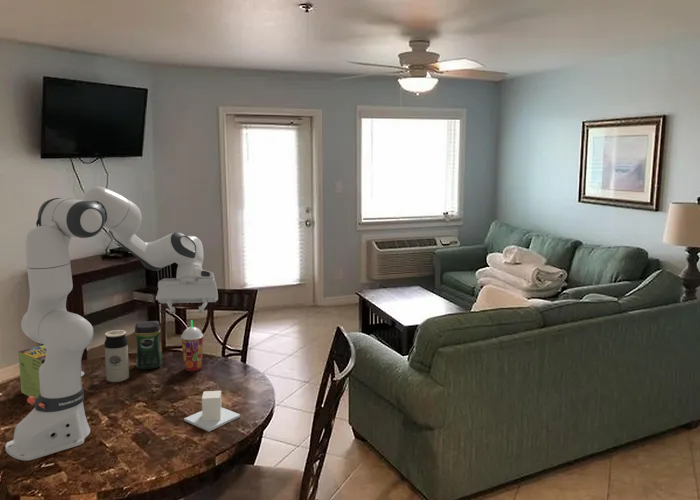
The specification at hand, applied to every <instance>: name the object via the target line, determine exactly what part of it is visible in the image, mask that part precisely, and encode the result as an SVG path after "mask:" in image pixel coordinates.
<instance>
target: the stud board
mask: <svg viewBox="0 0 700 500" xmlns="http://www.w3.org/2000/svg"><path fill="white" fill-rule="evenodd" d="M239 418H241V414H240V413H238V412H235V411H233V410H230V409H227V408H225V407H222V414H221V420H210V421H202V410H200V411H198V412H196V413H193V414H190V415H189V416H187V417H184V419H183V421H184V422H186V423H189V424H191V425H193V426H195V427H197V428H199V429H202V430H205V431H207V432H211V431H214V430H215V429H218V428H220V427H222V426H224V425H226V424H228V423H230V422H233V421H235V420H237V419H239Z"/></svg>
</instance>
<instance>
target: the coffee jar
mask: <svg viewBox="0 0 700 500" xmlns="http://www.w3.org/2000/svg"><path fill="white" fill-rule="evenodd" d="M160 334H161V326H160V321H158V320H149V321H148V320H147V321H137V322H136V324H135V327H134V336H135V338H136V368H137V369H139V370H149V369H150V370H151V369H157V368H159V367H161V366H162V364H163V360H162V359H163V357H162V352H161V347H160V345H161V344H160Z"/></svg>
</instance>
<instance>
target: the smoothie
mask: <svg viewBox="0 0 700 500" xmlns="http://www.w3.org/2000/svg"><path fill="white" fill-rule="evenodd" d="M180 339H181V346H182V347H181V348H182V357H183V366H184V367H183V368H185V370H186V371H187V372H197V371H200V370H201V369H202V366H203V346H204V344H203V343H204V334H203V332H202V331H201V329H200V328H198V327H196V326H194V323H193V319H192V320H191V319H190V327H187V328H186V329H184V331H183V332H182V335H181V337H180Z"/></svg>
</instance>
